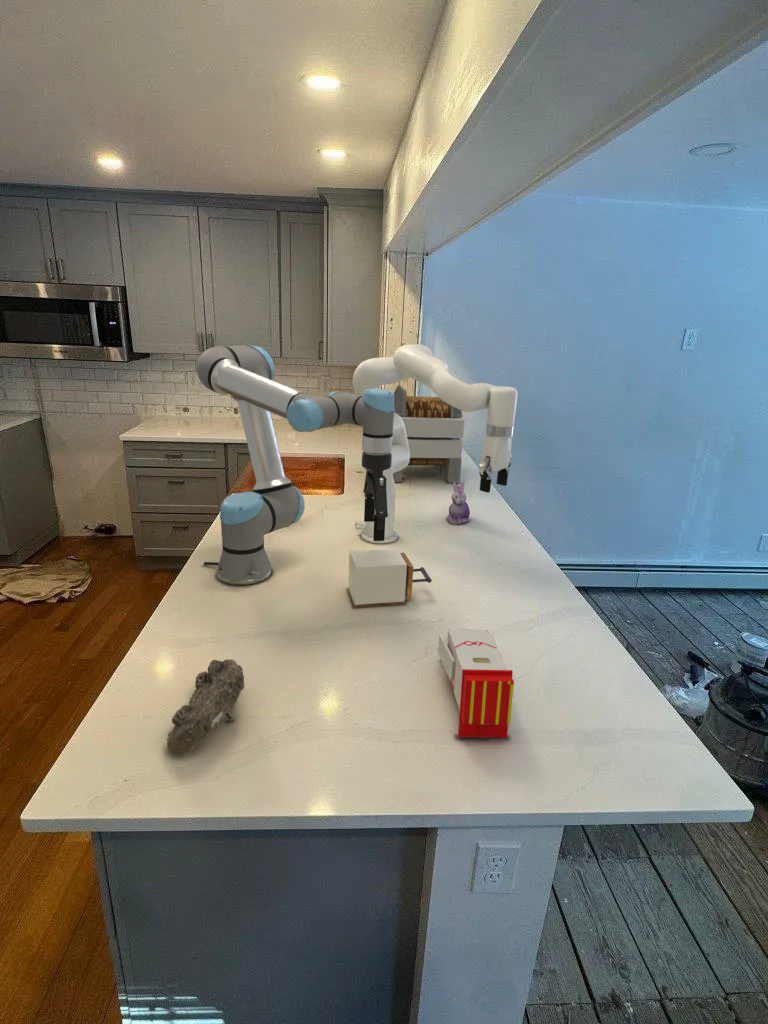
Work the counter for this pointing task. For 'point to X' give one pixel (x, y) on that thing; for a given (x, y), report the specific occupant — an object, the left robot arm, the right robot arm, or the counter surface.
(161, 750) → the counter surface
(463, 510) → the figurine
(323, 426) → the left robot arm
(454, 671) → the toy
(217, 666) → the fossil
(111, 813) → the counter surface
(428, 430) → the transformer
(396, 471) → the right robot arm
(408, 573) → the drawer
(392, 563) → the off-white box shell
